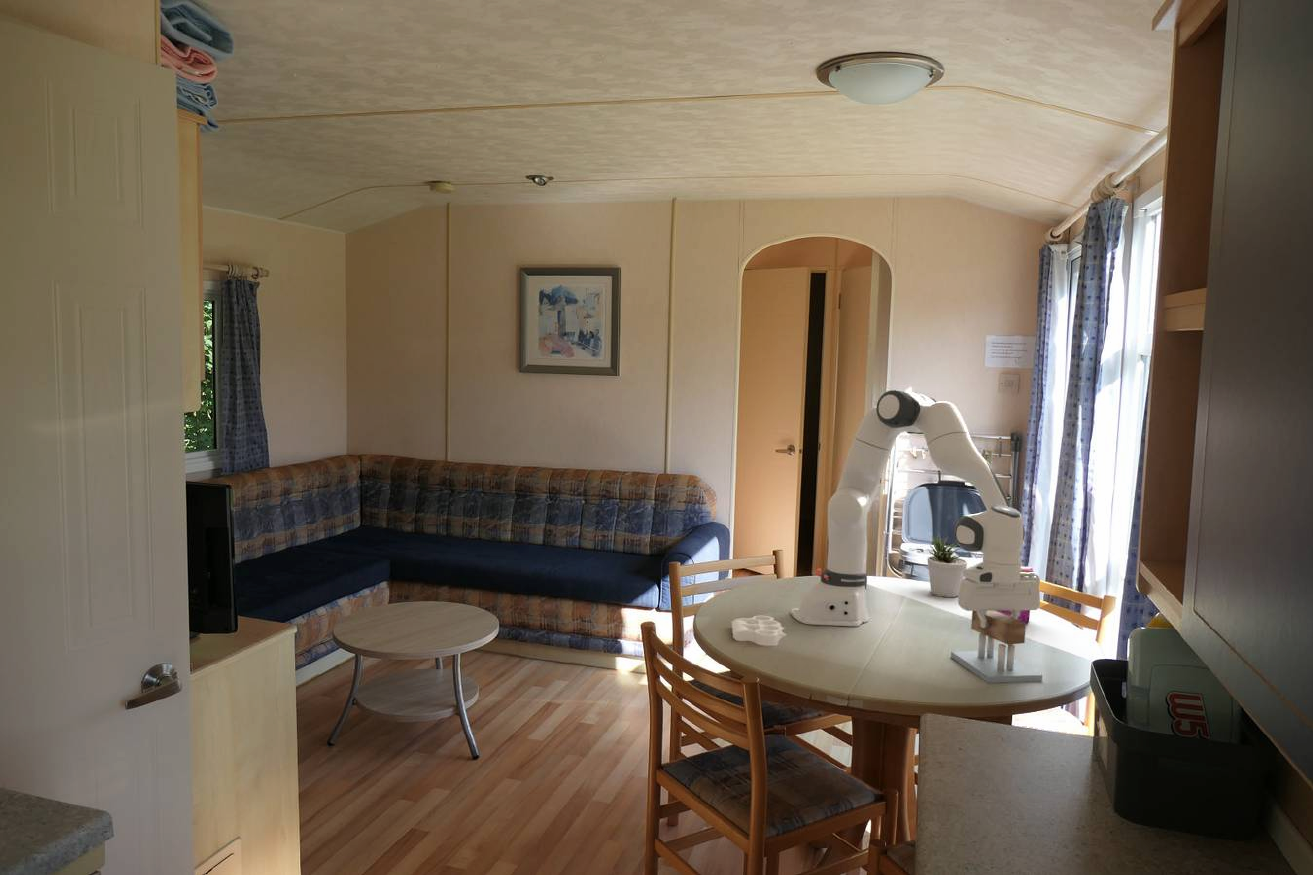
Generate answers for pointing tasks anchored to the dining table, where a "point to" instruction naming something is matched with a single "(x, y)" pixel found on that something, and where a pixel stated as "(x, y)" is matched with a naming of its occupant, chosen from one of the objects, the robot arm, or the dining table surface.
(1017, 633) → the walnut wood block
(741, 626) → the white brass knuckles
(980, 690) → the dining table surface
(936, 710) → the dining table surface
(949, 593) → the potted plant
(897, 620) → the dining table surface
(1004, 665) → the peg stand
